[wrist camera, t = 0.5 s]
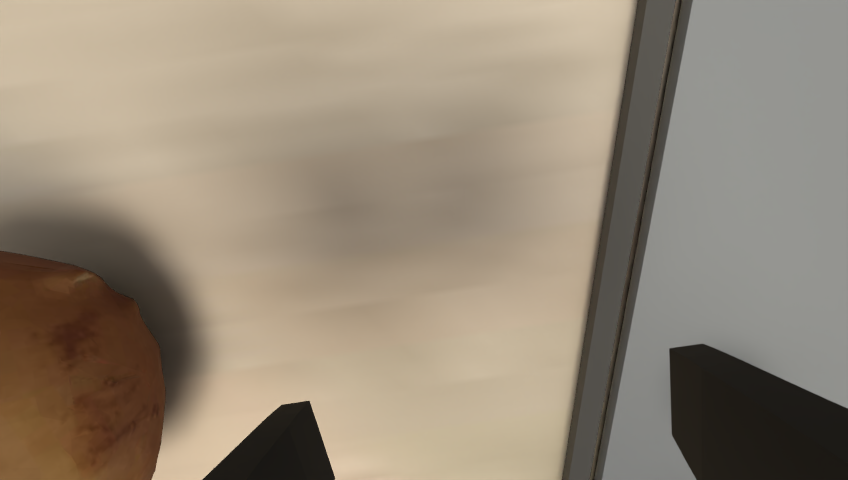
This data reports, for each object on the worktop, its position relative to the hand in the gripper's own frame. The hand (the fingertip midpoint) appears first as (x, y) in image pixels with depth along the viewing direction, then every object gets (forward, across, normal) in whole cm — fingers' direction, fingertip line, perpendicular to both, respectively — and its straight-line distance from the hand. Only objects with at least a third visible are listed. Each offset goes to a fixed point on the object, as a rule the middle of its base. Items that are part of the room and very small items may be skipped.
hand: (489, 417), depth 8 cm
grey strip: (+10, -12, +4) cm, 16 cm away
